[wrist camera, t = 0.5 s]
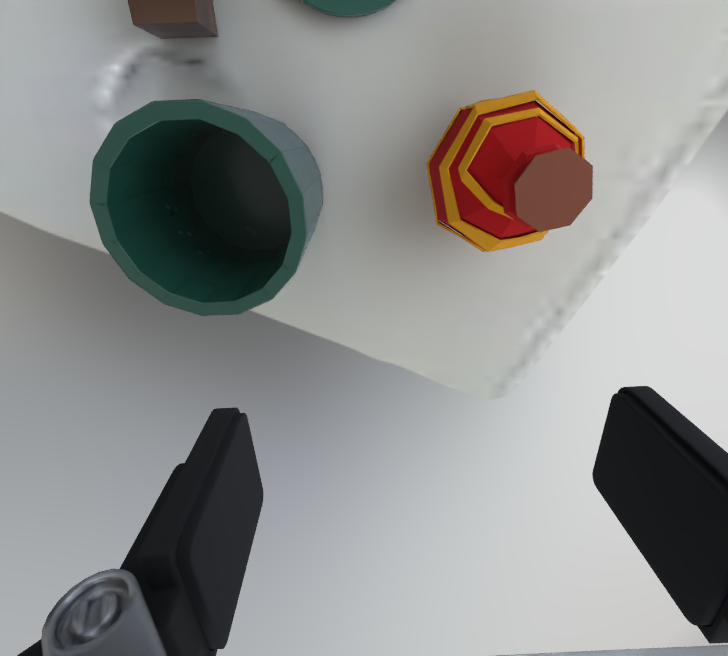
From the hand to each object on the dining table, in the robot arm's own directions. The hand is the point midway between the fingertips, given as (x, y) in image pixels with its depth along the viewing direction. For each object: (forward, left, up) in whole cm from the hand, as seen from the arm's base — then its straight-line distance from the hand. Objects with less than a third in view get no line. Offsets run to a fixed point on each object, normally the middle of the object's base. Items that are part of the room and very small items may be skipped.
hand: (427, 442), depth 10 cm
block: (-16, -13, -28) cm, 35 cm away
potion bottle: (-4, +9, -28) cm, 30 cm away
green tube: (-3, -10, -28) cm, 30 cm away
